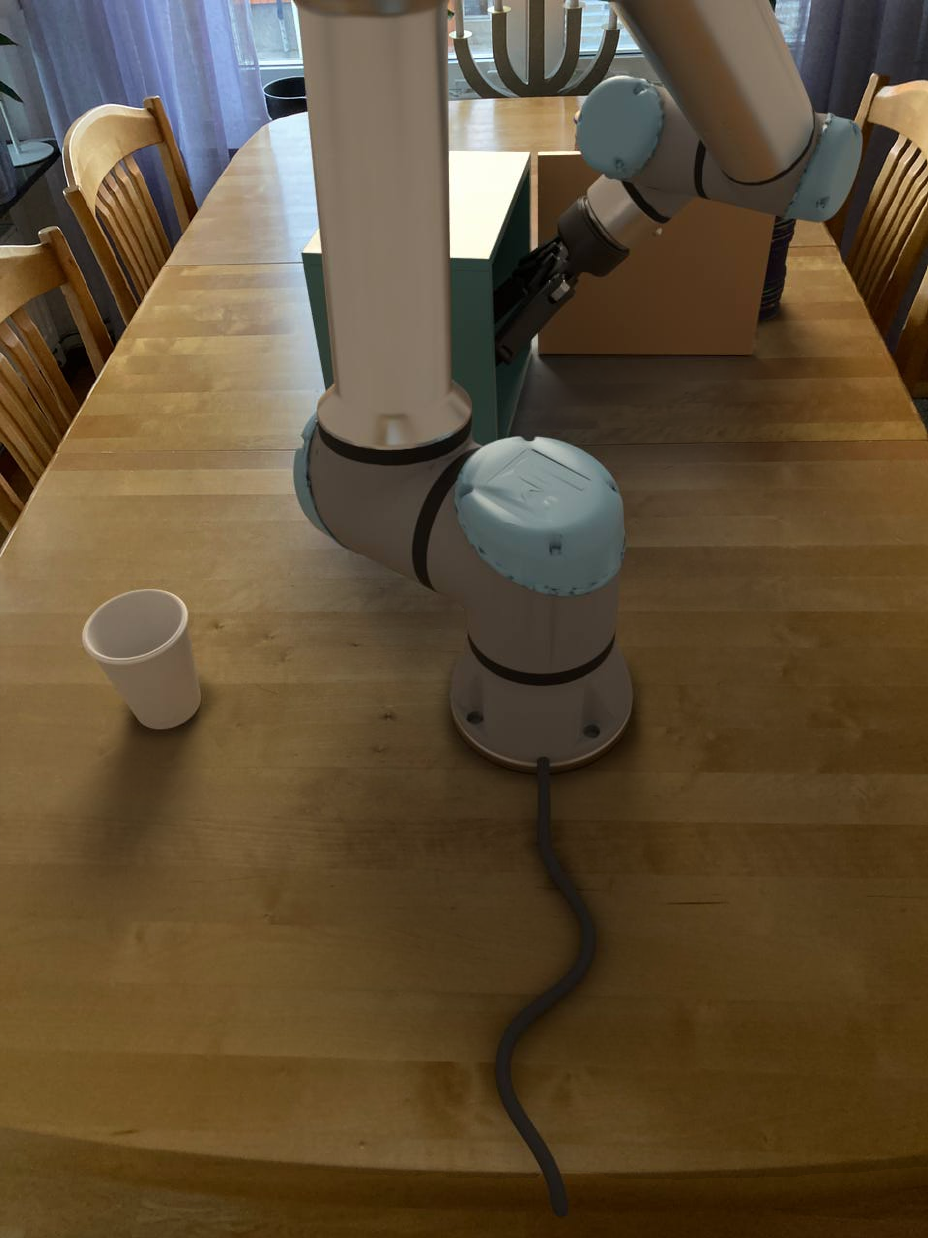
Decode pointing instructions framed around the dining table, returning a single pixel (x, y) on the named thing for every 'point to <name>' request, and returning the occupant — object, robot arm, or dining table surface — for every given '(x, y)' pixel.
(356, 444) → the robot arm
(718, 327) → the fridge door
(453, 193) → the box
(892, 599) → the dining table surface
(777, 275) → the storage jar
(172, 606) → the dixie cup
